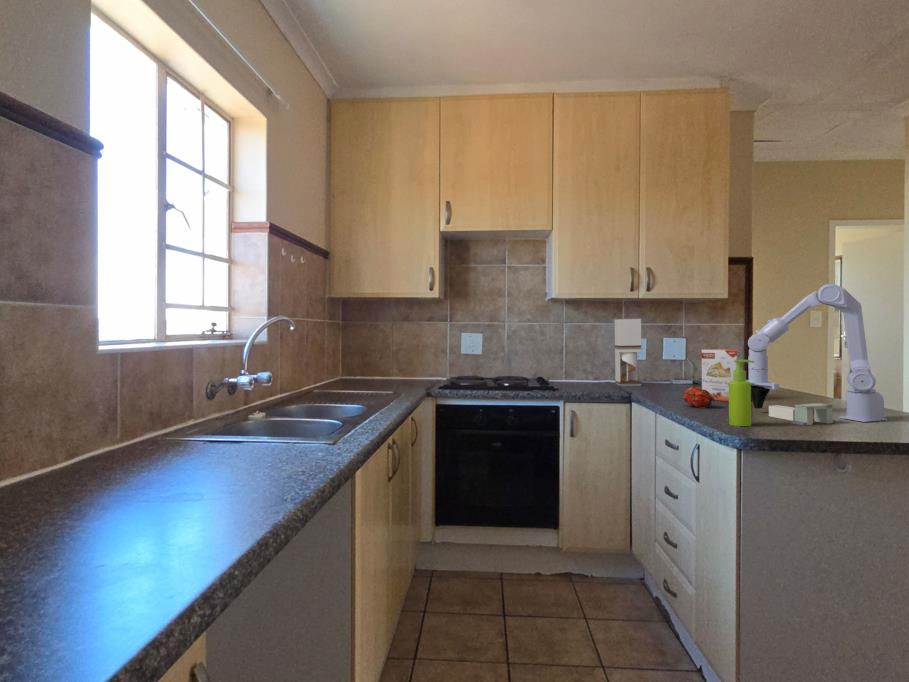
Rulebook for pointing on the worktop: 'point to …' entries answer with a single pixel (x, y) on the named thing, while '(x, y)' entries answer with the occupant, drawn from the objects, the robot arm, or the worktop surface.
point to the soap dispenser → (740, 397)
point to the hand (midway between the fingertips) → (758, 408)
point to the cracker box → (719, 371)
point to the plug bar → (782, 412)
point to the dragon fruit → (697, 397)
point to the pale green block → (806, 414)
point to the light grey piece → (627, 351)
